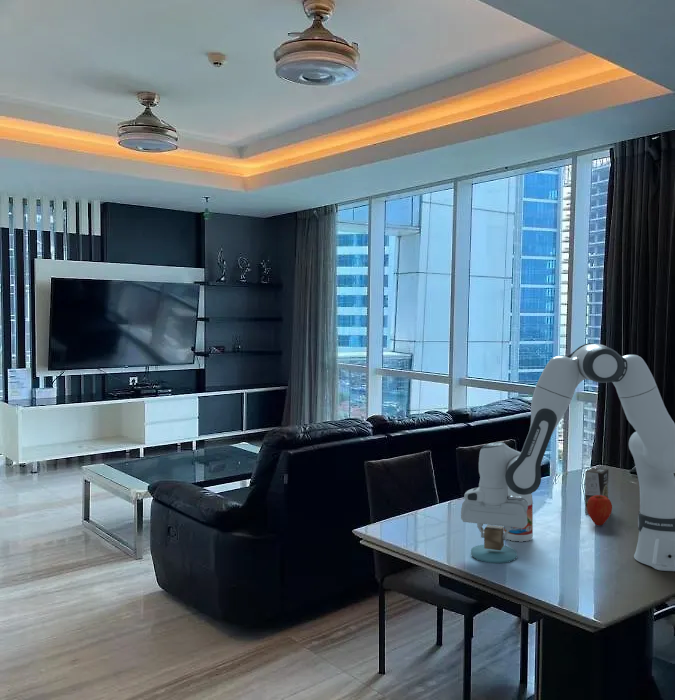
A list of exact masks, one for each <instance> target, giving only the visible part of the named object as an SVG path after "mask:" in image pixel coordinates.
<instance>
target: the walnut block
mask: <svg viewBox="0 0 675 700" xmlns="http://www.w3.org/2000/svg"><path fill="white" fill-rule="evenodd" d="M483 530H484V538H483V540H484V541H483V542H484V543H483V545H484V548H485V549H493V550H501V549H502V547H503V546H505V545H504V544H505V540H502V533H504V526H497V525H487V524H486V526H485V528H483Z"/></svg>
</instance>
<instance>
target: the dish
mask: <svg viewBox="0 0 675 700" xmlns="http://www.w3.org/2000/svg"><path fill="white" fill-rule="evenodd" d="M471 555H472V556H473V557H474V558H473V557H472V556H471ZM470 556H471V557H472V558H473V559H475V558H476V559H475V560H477V559H478V560H477V561H480V560H481V561H480V562H483V561H485V563H489V562H490V563H491V564H505V563H506V562H507V563H510V562H509V561H511V562H513V561H512V560H514V559H515V560H517V558H518V552H517V550H516V549H514V548H512V547H510V546H508V545H504V546H503V547H502V549H501V550H493V549H485V548H484V544H478V545H475V546H473V547H472V548H471V550H470ZM516 557H517V558H516ZM515 560H514V561H515Z"/></svg>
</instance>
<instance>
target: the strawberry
mask: <svg viewBox="0 0 675 700" xmlns="http://www.w3.org/2000/svg"><path fill="white" fill-rule="evenodd" d="M612 510H613V505H612V501H611V500H610V499H609V497H608V498H607V497H606V496H602V495H594V496H592V497H590V498H589V500H588V503H587V512H588V514H587V515H588V516H589V517H590V519H591V521H592V522H593V523H594V525H596V526H597V525H598V526H597V527H599V526H603V525H604V524H606V522H607V520H608V519H609V518H610V516H611V515H612V512H613V511H612Z"/></svg>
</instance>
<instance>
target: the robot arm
mask: <svg viewBox="0 0 675 700" xmlns="http://www.w3.org/2000/svg"><path fill="white" fill-rule="evenodd" d="M585 380H588V381H593V382H595V383H600V384H601V383H603V384H606V383H612V384H613V386H614V387H615V390H616V393H617V396H618V399H619V401H620V404H621V407H622V409H623V412H624V414H625V417H626V420H627V421H628V423H629V424H630V425H631V426H632V428H633V429H634V432H633V433H632V434H631V435H630V437H629V440H628V449H629V451H630V454H631V456H632V457H633V460H634V461H633V462H634V466H635V471H636V474H637V479H638V485H639V487H638V488H639V511H638V514H637V528H638V531H639V532H638V537H637V544H636V548H635V552H634V554H633V558H634V559H635V561H637V562H639V563H641V564H644V565H646V566H648V567H652V568H653V569H655V570H656V571H657V570H658V571H665V572H675V422H674V420H673V419H672V417H671V415H670V414H669V412H668V410H667V408H666V406H665V403H664V401H663V398H662V396H661V393H660V390H659V388H658V385H657V383H656V380H655V378H654V376H653V374H652V372H651V370H650V368H649V366H648V365H647V363H646V361H645V360H644V359H643V358H642V357H641V356H639V355H637V354H626V355H623V356H622V355H621V354H619V353H618V352H617V351H616V350H614V349H613V348H611V347H608V346H606V345H604V344H600V343H593V342H591V343H590V342H588V343H583V344H582V345H580V346H579V347H578V348H576V349H575V350H573V351H572V352H571V353H570V354H569V355H568V356H565V355H556V356H554V357H551V358H550V359H549V361H548V362H547V363H546V365H545V367H544V369H543V370H542V372H541V375H540V376H539V378H538V380H537V382H536V385H535V388H534V391H533V395H532V397H531V403H530V426H529V431H528V434H527V436H526V439H525V441H524V443H523V446H522V449H521V451H519V450H516V449H514V448H511V447H509V445H507V444H506V443H505V442H501V441H500V442H498V441H495V442H490V443H487V444H484V445H482V447H481V448H480V451H479V454H478V456H479V457H478V474H479V477H480V478H479V483H478V487H474V488H471V489H468V490H466V491H465V493H464V494H463V495H464V496H463V498H464V500H463V502H462V503H461V507H460V519H461V521H462V522H463V523H469V524H470V523H471V524H476V528H477V529H478V531H479V532H480V538H481V539H484V528H483V526H484V525H486V526H487V525H494V526H503V527H504V526H505V530H507V531H506V532H505V533H502V540H504V541H507V540H508V539H507V534H508V532H509V530H510V529H511V527H516V528H524V527H525V526H526V525H527V512H526V511H527V510H528V503H527V501H526V500H525V499H523V498H522V497H514V496H508V487H509V488H510V489H511V490H512V491H513V492H515V493H517V494H521V495H528V494H533V493H535V492H536V491H537V490H538V489H539V487H540V486H541V482H542V470H541V466H542V462H543V458H544V456H545V453H546V451H547V447H548V446H549V443H550V440H551V437H552V435H553V434H554V432H555V430H556V429H557V427H558V425H559V423H560V422H561V420H562V418H563V417H564V415H565V414H566V411H567V410H568V408H569V406H570V404H571V401H572V400H573V397H574V394H575V392H576V389H577V388H578V386H579V384H581V382H583V381H585ZM523 500H524V501H523Z"/></svg>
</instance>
